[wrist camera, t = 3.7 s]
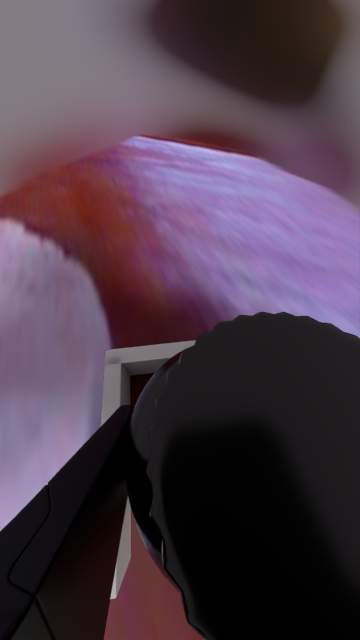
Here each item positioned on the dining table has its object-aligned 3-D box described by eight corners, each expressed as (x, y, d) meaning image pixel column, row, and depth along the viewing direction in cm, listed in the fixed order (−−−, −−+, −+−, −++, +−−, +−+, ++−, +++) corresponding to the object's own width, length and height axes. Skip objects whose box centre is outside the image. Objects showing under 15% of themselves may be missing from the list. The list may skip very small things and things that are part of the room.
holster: (320, 522, 11) (363, 548, 9) (111, 561, 10) (89, 603, 8) (260, 348, 16) (275, 331, 14) (117, 364, 16) (105, 349, 13)
